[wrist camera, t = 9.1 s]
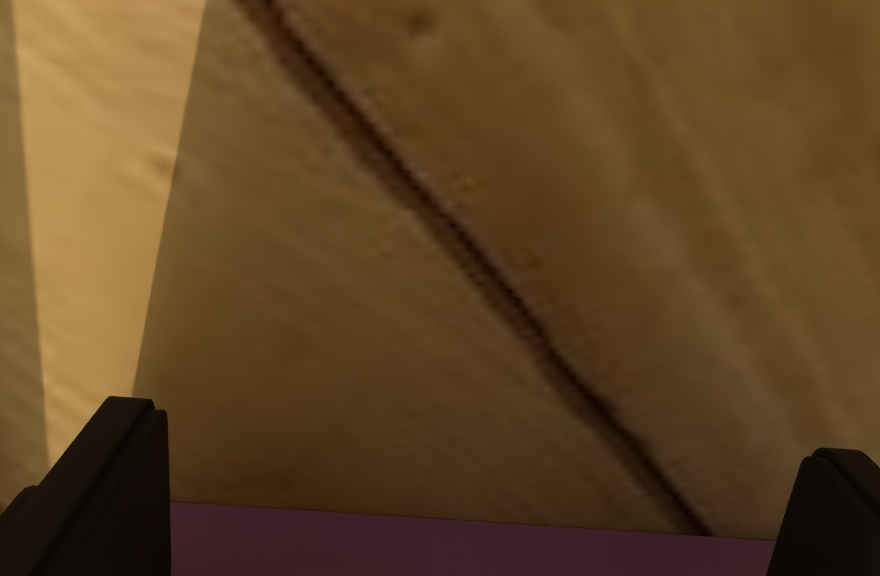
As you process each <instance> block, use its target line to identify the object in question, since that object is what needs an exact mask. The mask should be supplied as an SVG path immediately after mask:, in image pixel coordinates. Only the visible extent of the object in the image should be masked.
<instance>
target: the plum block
mask: <svg viewBox="0 0 880 576" xmlns="http://www.w3.org/2000/svg"><path fill="white" fill-rule="evenodd" d="M170 523H171V560H172V563H171V575H170V576H766V573H767V569H768V566H769V563H770V560H771V557H772V553H773V550H774V547H775V544H776V541H773V540H757V539H742V538H726V537H711V536H695V535H680V534H664V533H649V532H633V531H618V530H602V529H587V528H572V527H556V526H541V525H525V524H510V523H494V522H479V521H463V520H448V519H432V518H417V517H401V516H386V515H370V514H355V513H340V512H324V511H309V510H293V509H278V508H262V507H247V506H231V505H216V504H200V503H185V502H170Z"/></svg>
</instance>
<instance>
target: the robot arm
mask: <svg viewBox="0 0 880 576" xmlns="http://www.w3.org/2000/svg"><path fill="white" fill-rule="evenodd" d="M171 563H172V560H171V523H170V485H169V447H168V418H167V413H166V411H165V410H155V405H154V402H153V401H152V399H145V398H131V397H117V396H109V397H108V398H107V399H106V400H105V401H104V402H103V404H102V405H101V406H100V407H99V409H98V410H97V411H96V413H95V414H94V415H93V416H92V418H91V419H90V420H89V422H88V423H87V424H86V425H85V427H84V428H83V429H82V430H81V432H80V433H79V434H78V436H77V437H76V438H75V439H74V441H73V442H72V443H71V445H70V446H69V447H68V448H67V450H66V451H65V452H64V453H63V455H62V456H61V457H60V459H59V460H58V461H57V462H56V464H55V465H54V466H53V468H52V469H51V470H50V471H49V473H48V474H47V475H46V476H45V478H44V479H43V480H42V482H41V483H40V484H39V485H38V486H33V485H32V486H29V487H26V488H24V489H23V490H22V491H21V492H20V493H19V494H18V495H17V496H16V497H15V499H14V500H13V501H12V502H11V504H10V505H9V506H8V507H7V508H6V510H5V511H4V512H3V513H2V515H1V516H0V576H170V575H171ZM766 576H880V468H879V467H878V466H877V465H876V464H875V463H874V462H873V461H872V460H871V459H870V458H869V457H868V456H867V455H866V454H865V453H863V452H862V451H859V450H851V449H837V448H823V447H821V448H819V449H816V450H815V452H814V453H813V454H812V456H808V457H805V458H804V459H803V460H802V462H801V464H800V467H799V470H798V473H797V477H796V480H795V483H794V486H793V489H792V493H791V496H790V499H789V502H788V505H787V509H786V512H785V515H784V518H783V521H782V525H781V528H780V531H779V534H778V537H777V541H776V544H775V547H774V550H773V553H772V557H771V560H770V563H769V566H768V569H767V573H766Z"/></svg>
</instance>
